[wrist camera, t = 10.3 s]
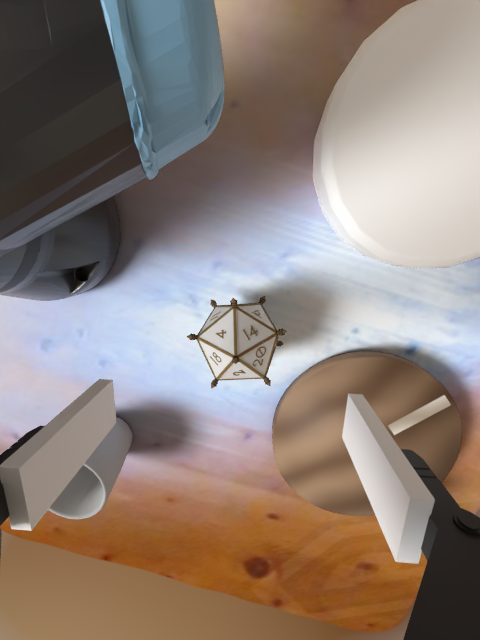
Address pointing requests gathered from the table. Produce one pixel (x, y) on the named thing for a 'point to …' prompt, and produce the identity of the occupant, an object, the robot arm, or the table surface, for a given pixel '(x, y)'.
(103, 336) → the table surface
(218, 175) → the table surface
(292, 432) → the turntable
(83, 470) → the cup
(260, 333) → the game die
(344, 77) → the container
